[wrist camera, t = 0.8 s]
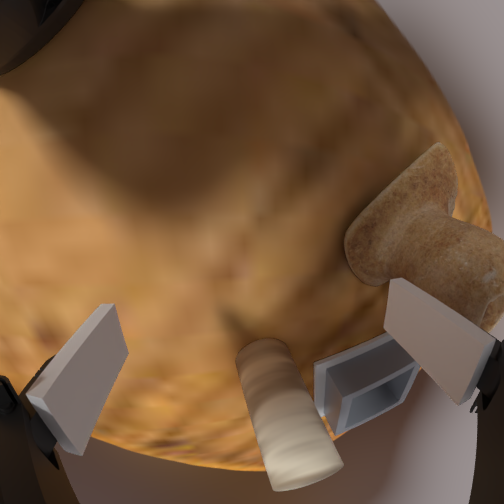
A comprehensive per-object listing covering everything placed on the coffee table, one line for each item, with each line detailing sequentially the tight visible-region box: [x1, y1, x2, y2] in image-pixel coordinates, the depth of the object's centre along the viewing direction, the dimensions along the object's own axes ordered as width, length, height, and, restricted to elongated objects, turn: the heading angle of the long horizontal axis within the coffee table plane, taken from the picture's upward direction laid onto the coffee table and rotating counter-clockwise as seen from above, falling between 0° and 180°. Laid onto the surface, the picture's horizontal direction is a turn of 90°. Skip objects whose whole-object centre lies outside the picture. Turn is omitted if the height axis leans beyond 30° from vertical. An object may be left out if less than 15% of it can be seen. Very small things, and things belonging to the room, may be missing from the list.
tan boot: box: [344, 142, 504, 333], centre depth 19 cm, size 15×12×15 cm
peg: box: [236, 338, 344, 491], centre depth 22 cm, size 6×6×15 cm
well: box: [314, 332, 420, 436], centre depth 33 cm, size 16×16×6 cm
